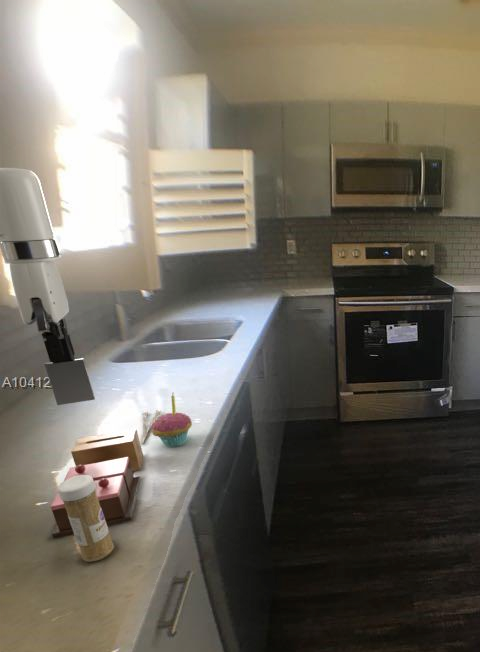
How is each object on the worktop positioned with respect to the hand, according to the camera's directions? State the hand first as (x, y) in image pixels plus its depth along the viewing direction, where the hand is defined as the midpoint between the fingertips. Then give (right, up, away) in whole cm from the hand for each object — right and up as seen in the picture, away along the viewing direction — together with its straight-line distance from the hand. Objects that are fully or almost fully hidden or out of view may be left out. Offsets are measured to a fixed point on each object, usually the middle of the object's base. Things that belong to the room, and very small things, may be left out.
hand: (62, 358), depth 81 cm
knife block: (0, -23, +16) cm, 28 cm away
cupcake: (+8, -19, +26) cm, 33 cm away
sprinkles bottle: (+11, -32, -8) cm, 35 cm away
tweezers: (-2, -16, +33) cm, 37 cm away
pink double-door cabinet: (+4, -27, +4) cm, 28 cm away
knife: (0, -8, +3) cm, 9 cm away
